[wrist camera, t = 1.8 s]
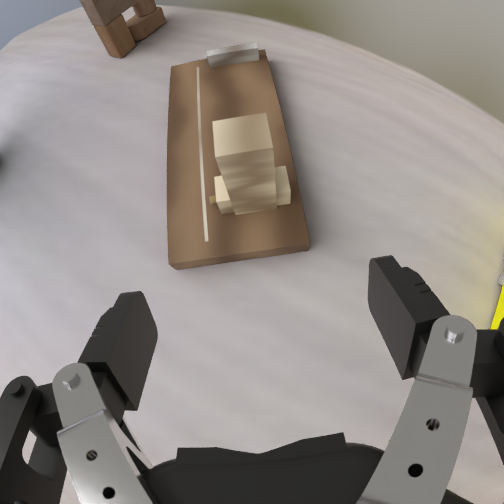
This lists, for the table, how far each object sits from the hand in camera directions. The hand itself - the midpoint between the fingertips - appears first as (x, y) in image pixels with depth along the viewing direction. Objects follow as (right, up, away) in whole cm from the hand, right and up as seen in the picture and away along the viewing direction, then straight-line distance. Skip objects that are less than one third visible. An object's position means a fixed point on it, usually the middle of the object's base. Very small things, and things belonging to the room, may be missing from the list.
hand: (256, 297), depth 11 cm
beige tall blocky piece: (0, +6, +17) cm, 18 cm away
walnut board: (-3, +13, +22) cm, 25 cm away
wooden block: (-19, +37, +31) cm, 51 cm away
